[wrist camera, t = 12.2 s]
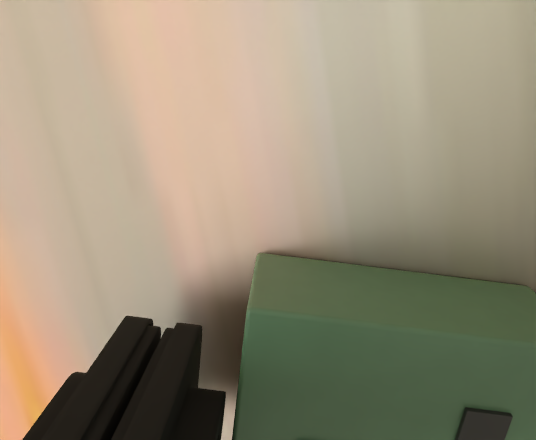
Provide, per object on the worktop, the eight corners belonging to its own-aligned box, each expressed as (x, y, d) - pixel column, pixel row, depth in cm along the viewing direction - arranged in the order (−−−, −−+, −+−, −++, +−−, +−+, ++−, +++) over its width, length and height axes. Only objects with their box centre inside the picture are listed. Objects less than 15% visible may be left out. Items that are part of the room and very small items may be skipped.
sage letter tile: (257, 250, 10) (246, 311, 7) (528, 284, 10) (612, 357, 7) (233, 459, 11) (217, 564, 9) (459, 488, 11) (505, 601, 9)
